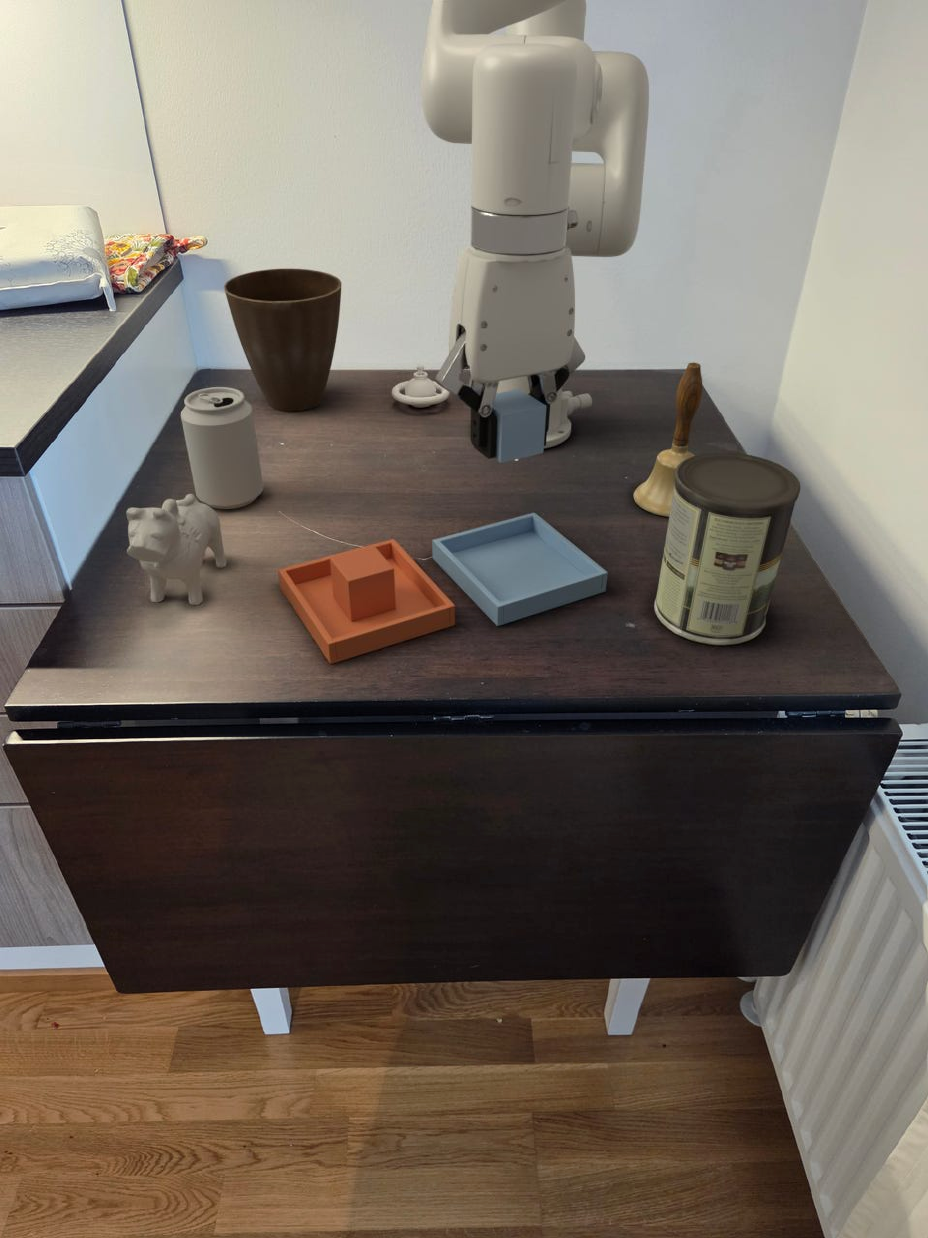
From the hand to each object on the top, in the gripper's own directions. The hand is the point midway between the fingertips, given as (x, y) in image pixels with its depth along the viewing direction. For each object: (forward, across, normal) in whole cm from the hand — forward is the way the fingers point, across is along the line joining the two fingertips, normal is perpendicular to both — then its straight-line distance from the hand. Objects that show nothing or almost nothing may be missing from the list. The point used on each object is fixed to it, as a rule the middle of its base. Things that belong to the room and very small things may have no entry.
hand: (509, 444), depth 79 cm
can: (+14, +20, -28) cm, 37 cm away
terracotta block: (+13, +15, -1) cm, 20 cm away
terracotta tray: (+14, +14, -1) cm, 20 cm away
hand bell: (+14, -24, -4) cm, 28 cm away
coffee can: (+14, -14, +15) cm, 24 cm away
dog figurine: (+14, +29, -12) cm, 34 cm away
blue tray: (+14, -1, +1) cm, 14 cm away
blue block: (0, 0, 0) cm, 0 cm away
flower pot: (+14, +4, -51) cm, 53 cm away
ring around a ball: (+14, -11, -42) cm, 46 cm away
